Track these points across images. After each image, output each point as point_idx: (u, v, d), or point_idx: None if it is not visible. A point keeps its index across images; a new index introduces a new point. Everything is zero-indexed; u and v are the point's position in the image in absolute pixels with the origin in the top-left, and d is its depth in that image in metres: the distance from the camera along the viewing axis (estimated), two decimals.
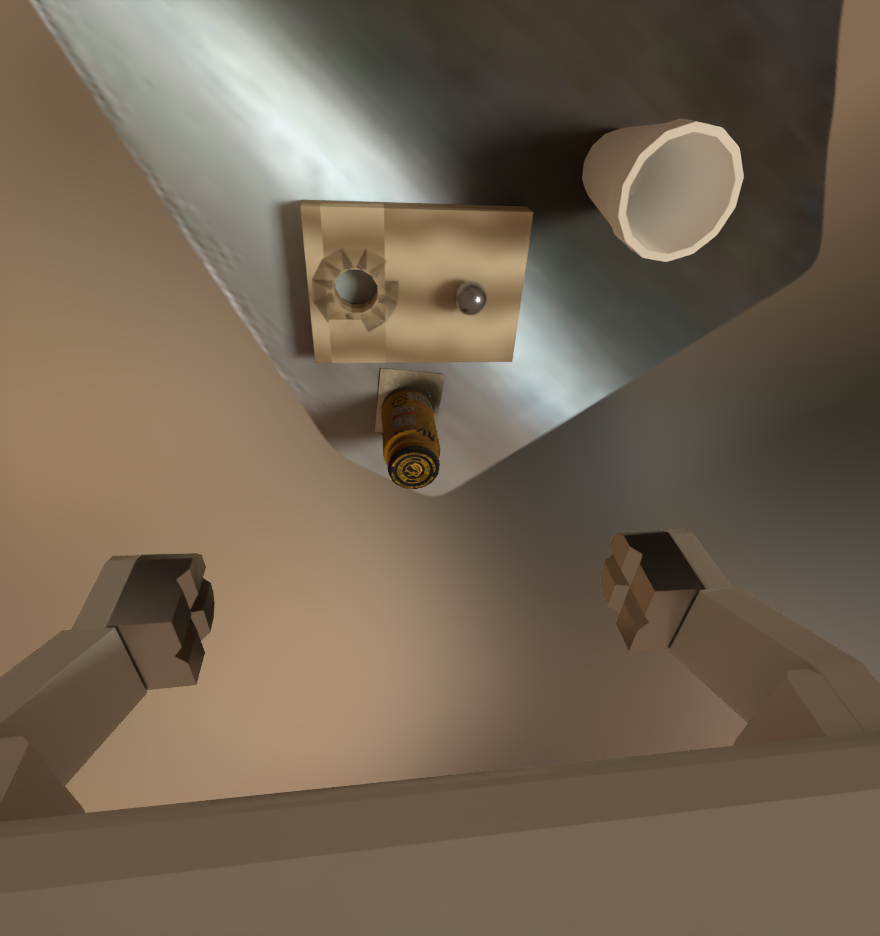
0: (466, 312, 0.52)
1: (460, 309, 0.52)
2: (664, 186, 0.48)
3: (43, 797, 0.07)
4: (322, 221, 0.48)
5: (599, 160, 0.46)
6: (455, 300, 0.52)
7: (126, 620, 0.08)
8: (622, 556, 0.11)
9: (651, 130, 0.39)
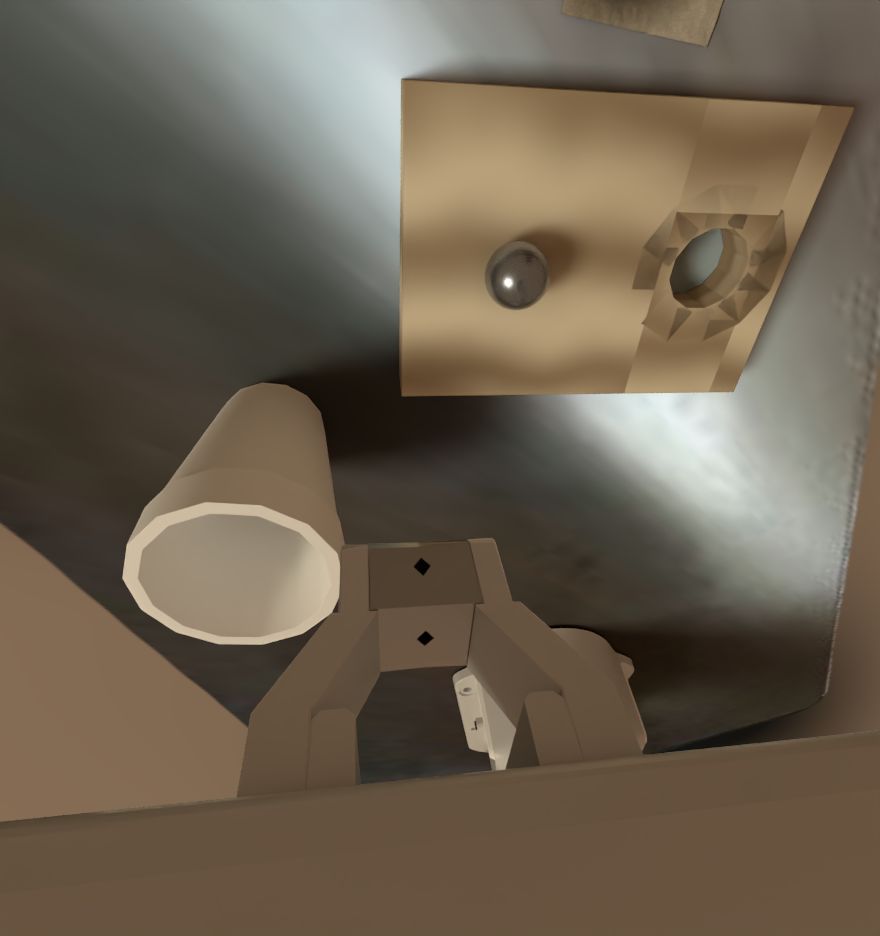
0: (536, 263, 0.25)
1: (546, 266, 0.25)
2: None
3: (357, 766, 0.07)
4: (713, 374, 0.33)
5: None
6: None
7: (384, 604, 0.09)
8: None
9: None
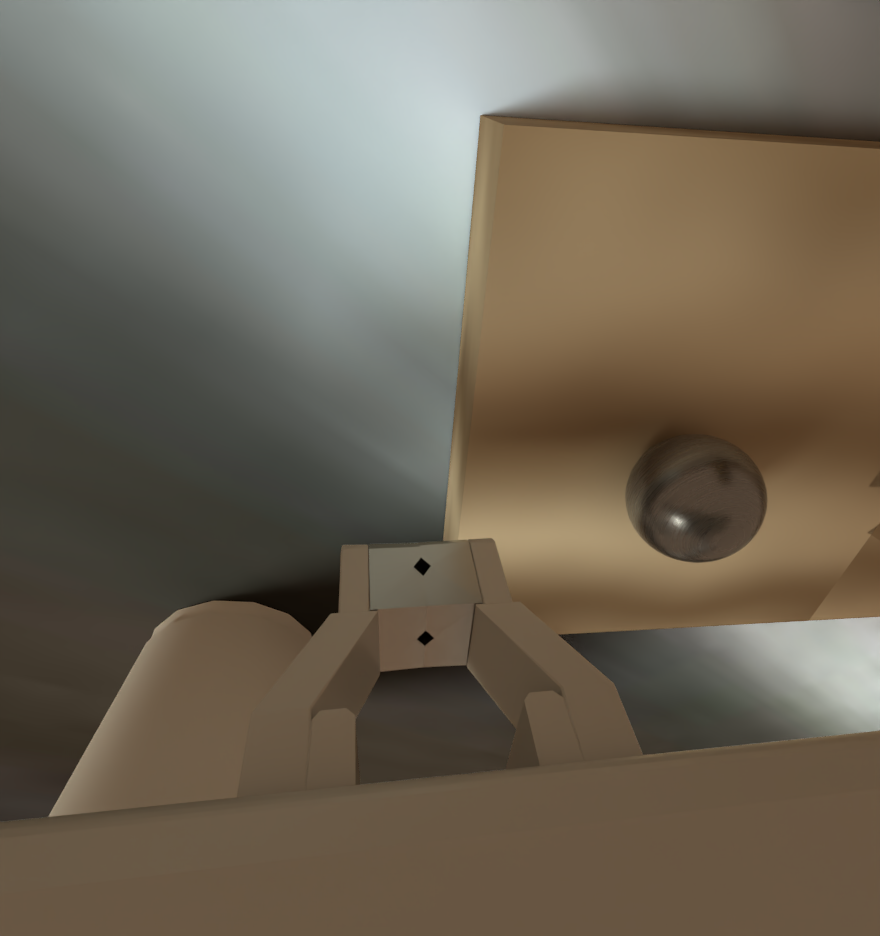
0: (753, 497, 0.12)
1: (765, 496, 0.12)
2: None
3: (357, 766, 0.07)
4: None
5: None
6: None
7: (384, 604, 0.09)
8: None
9: None
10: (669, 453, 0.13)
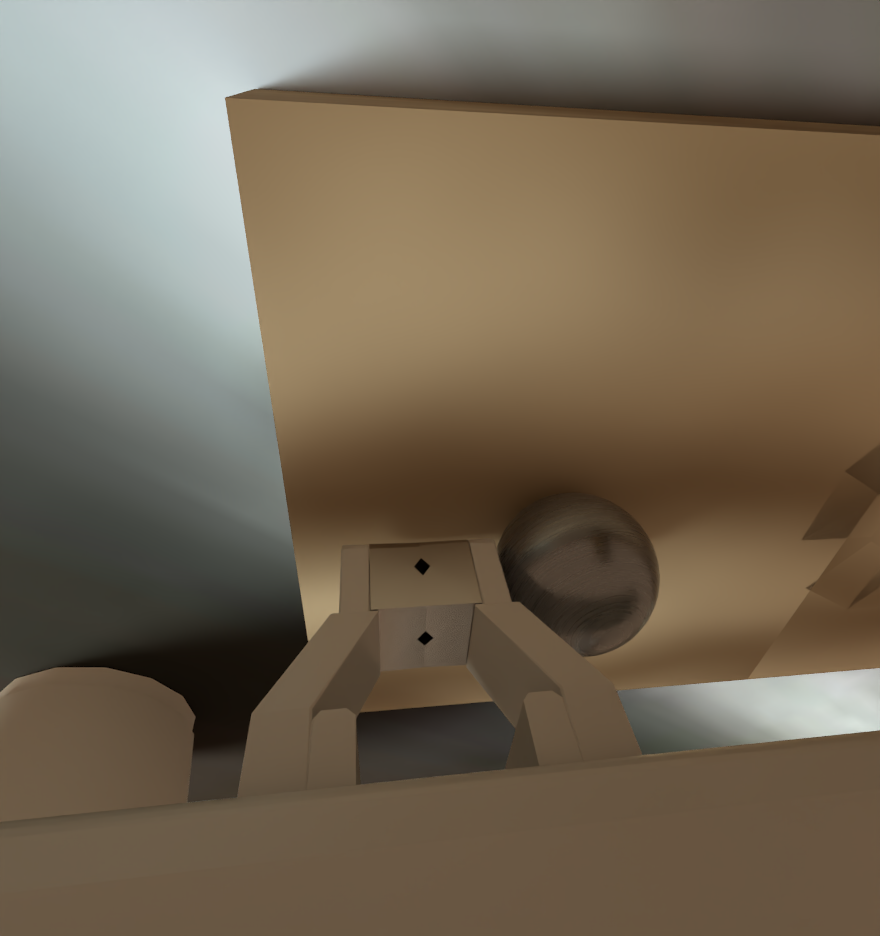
0: (638, 580, 0.09)
1: (656, 572, 0.10)
2: None
3: (357, 766, 0.07)
4: None
5: None
6: None
7: (385, 604, 0.09)
8: None
9: None
10: (536, 525, 0.10)
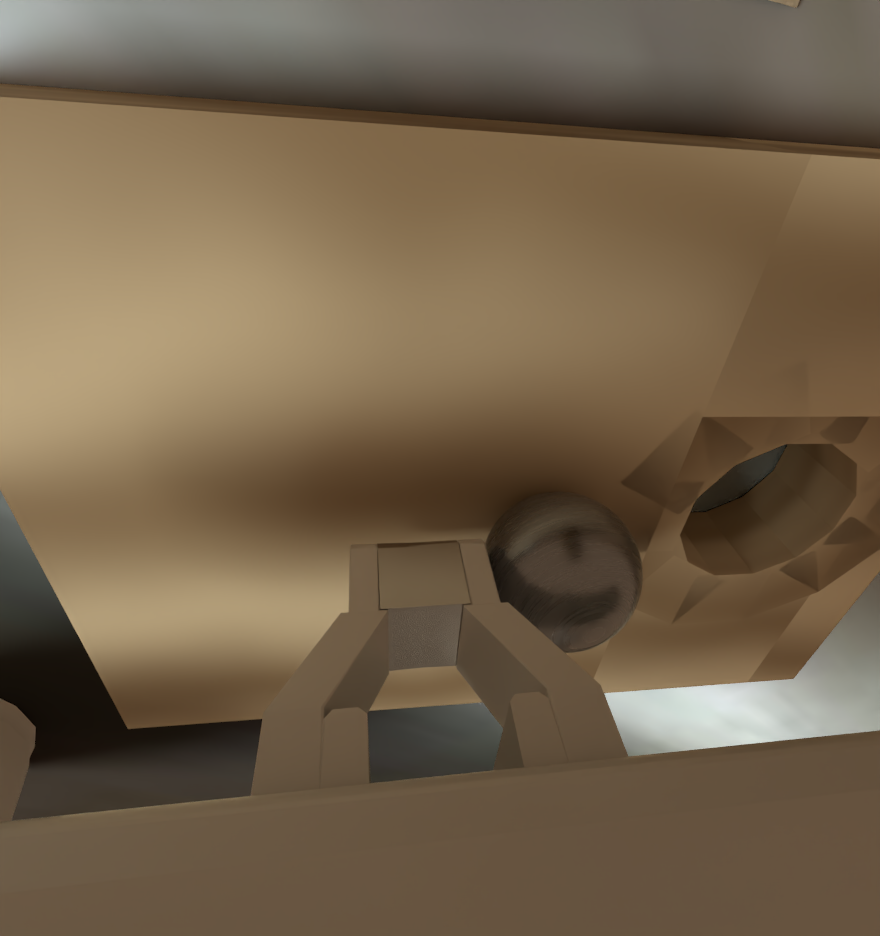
0: None
1: (498, 520, 0.11)
2: None
3: (369, 764, 0.07)
4: (759, 660, 0.17)
5: None
6: None
7: (394, 603, 0.09)
8: None
9: None
10: (619, 525, 0.10)
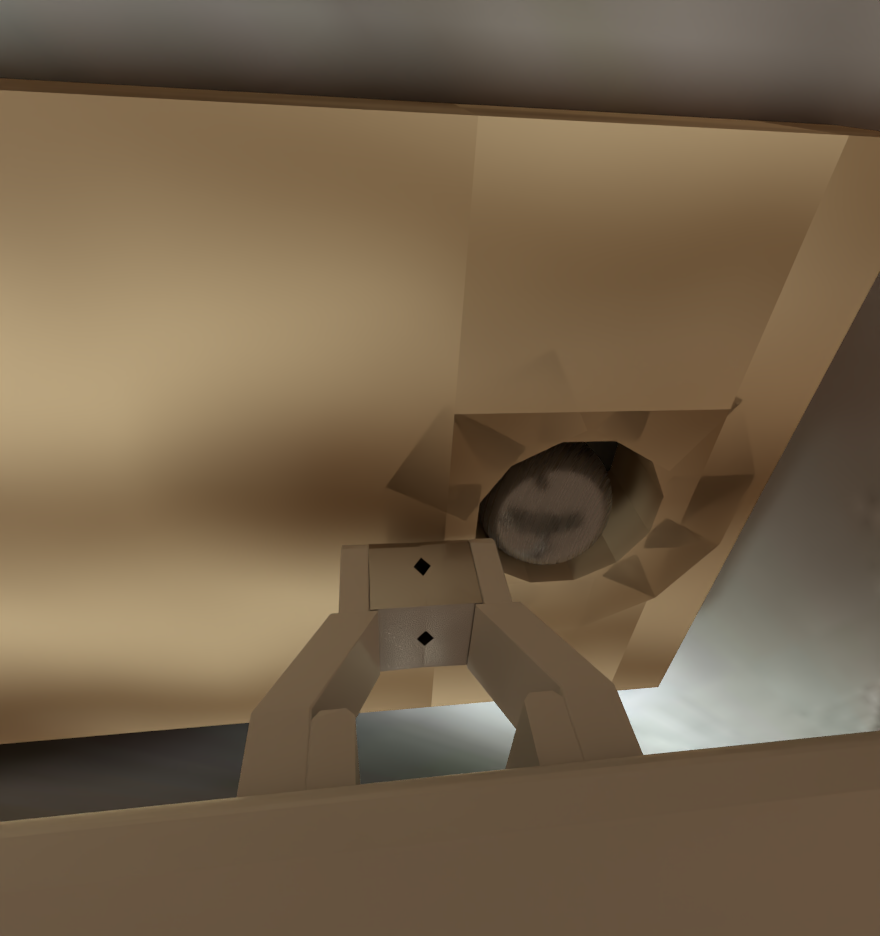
0: (607, 476, 0.12)
1: None
2: None
3: (357, 766, 0.07)
4: (613, 669, 0.16)
5: None
6: None
7: (384, 604, 0.09)
8: None
9: None
10: (530, 477, 0.11)
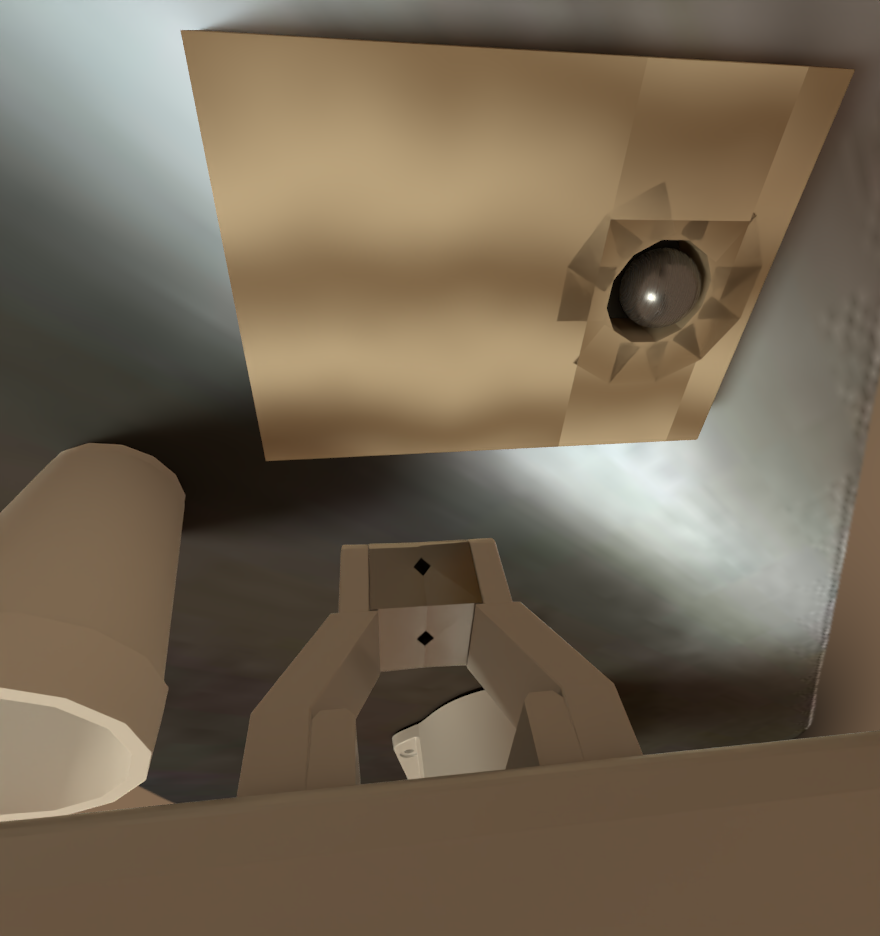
0: None
1: None
2: None
3: (357, 766, 0.07)
4: (671, 420, 0.26)
5: None
6: None
7: (384, 604, 0.09)
8: None
9: None
10: (675, 268, 0.21)
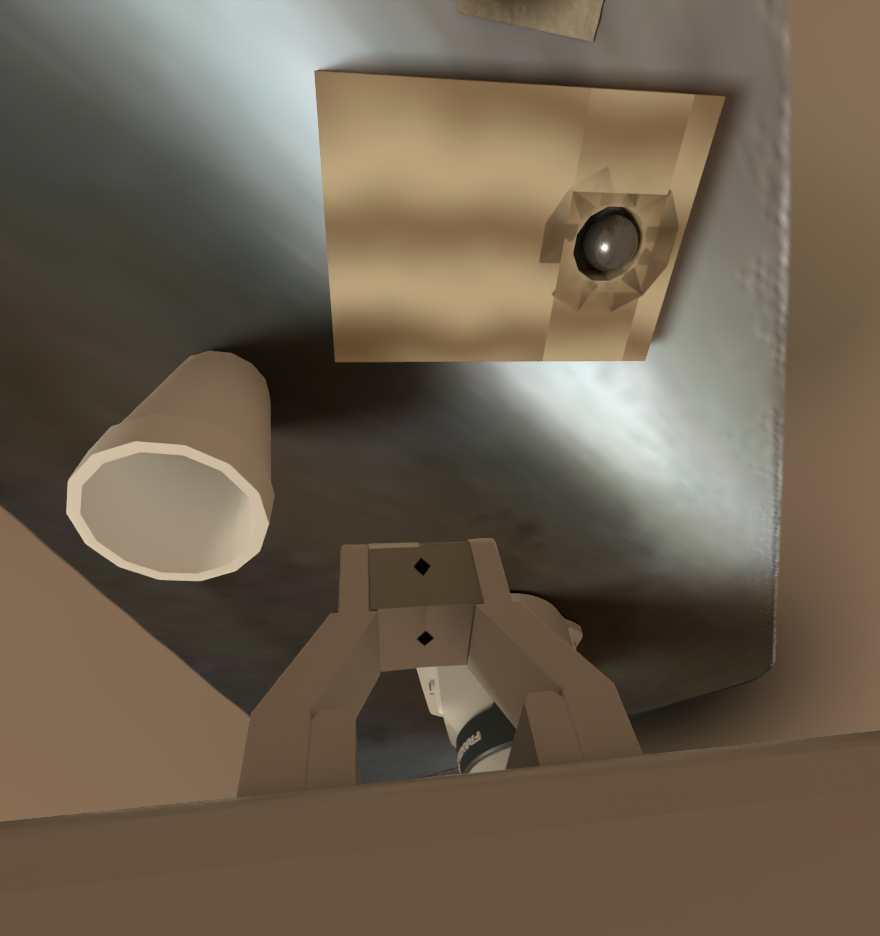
0: None
1: None
2: None
3: (357, 766, 0.07)
4: (624, 343, 0.36)
5: None
6: None
7: (384, 604, 0.09)
8: None
9: None
10: (618, 226, 0.31)
